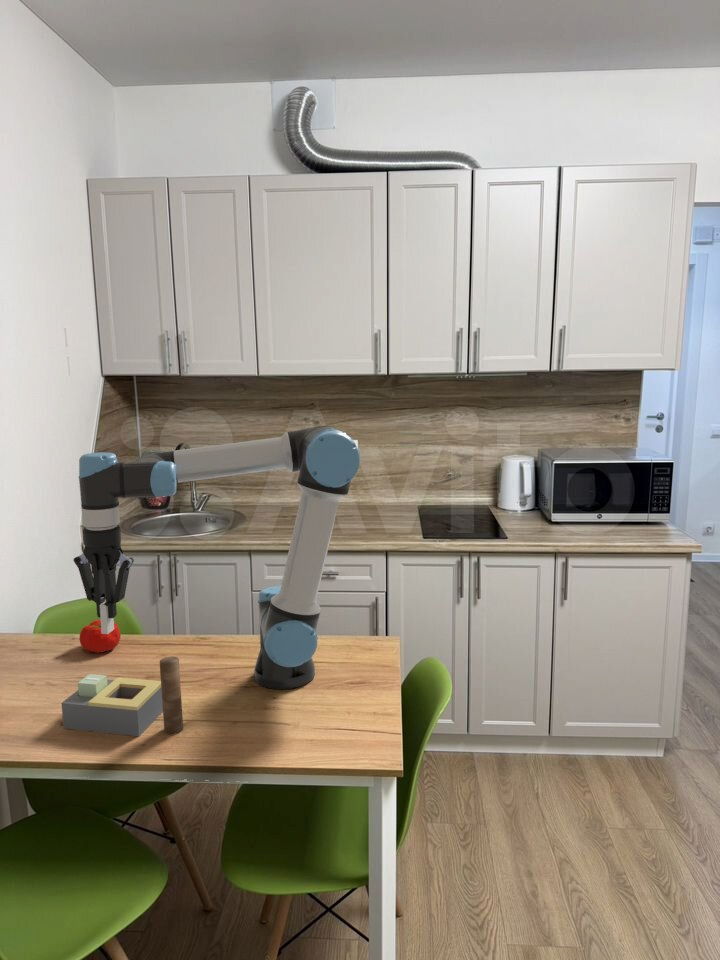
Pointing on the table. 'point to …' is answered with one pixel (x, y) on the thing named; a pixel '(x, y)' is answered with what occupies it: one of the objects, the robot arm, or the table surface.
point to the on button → (92, 685)
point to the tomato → (98, 638)
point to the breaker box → (115, 708)
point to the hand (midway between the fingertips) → (107, 631)
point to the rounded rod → (171, 695)
